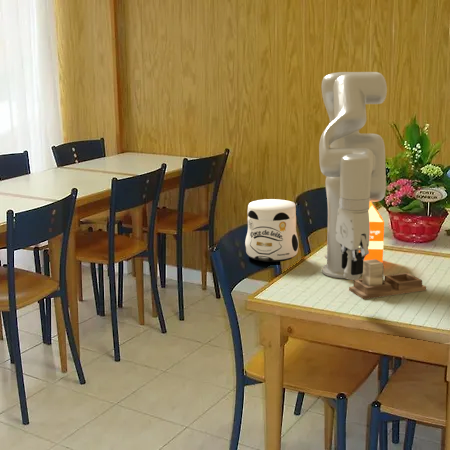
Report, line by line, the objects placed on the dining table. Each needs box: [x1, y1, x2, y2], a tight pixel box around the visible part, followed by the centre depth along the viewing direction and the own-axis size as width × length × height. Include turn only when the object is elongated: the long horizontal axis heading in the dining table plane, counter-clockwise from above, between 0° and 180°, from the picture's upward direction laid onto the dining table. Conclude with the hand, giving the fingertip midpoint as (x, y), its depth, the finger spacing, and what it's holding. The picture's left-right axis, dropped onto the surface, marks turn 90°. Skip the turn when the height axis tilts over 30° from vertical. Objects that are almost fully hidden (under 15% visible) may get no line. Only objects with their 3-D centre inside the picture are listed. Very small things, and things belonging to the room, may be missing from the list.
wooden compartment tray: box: [348, 259, 427, 300], centre depth 203 cm, size 8×20×9 cm, turn 109°
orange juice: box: [359, 202, 385, 264], centre depth 226 cm, size 8×9×20 cm
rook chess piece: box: [343, 249, 361, 281], centre depth 187 cm, size 4×4×8 cm
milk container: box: [244, 198, 300, 263], centre depth 234 cm, size 17×17×18 cm
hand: (352, 270), depth 188 cm, fingers closed on rook chess piece, 4 cm apart
